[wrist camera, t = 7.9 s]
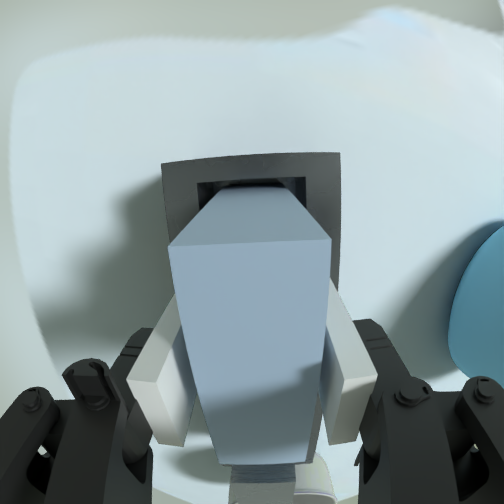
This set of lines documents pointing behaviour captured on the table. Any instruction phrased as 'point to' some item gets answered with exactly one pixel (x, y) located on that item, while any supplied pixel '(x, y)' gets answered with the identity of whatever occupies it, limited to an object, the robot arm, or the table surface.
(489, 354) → the sugar bowl
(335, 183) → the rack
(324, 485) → the teacup
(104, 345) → the table surface
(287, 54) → the table surface
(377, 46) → the table surface
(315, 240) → the panel
